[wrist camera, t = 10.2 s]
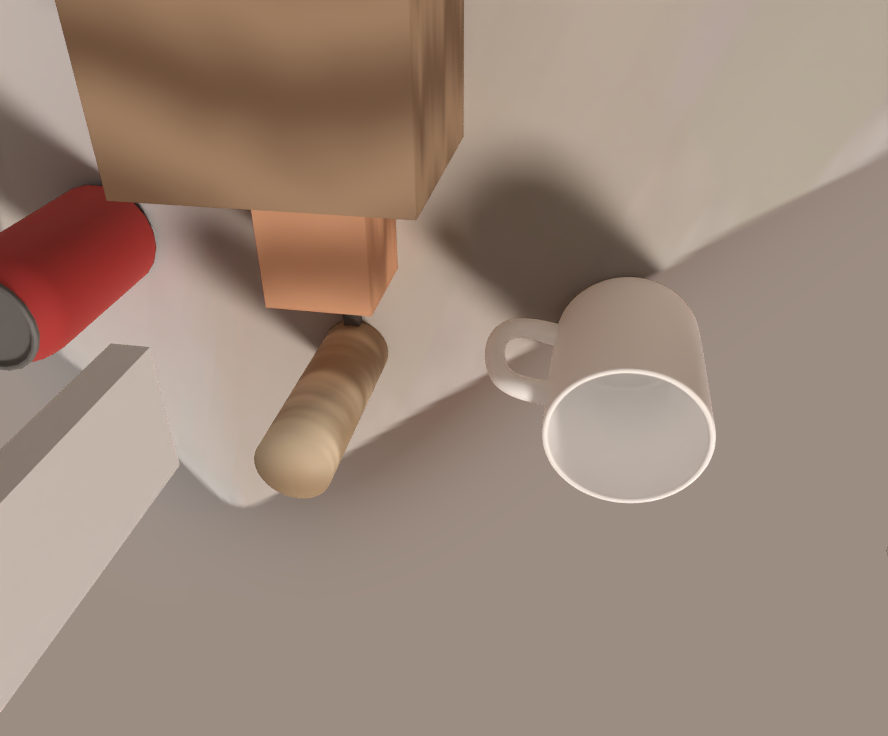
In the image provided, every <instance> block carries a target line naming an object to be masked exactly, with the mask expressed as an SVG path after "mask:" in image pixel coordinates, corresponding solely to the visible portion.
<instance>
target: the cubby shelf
mask: <svg viewBox="0 0 888 736" xmlns="http://www.w3.org/2000/svg"><path fill="white" fill-rule="evenodd" d="M55 3H56V7H57V10H58V14H59V18H60V22H61V26H62V30H63V34H64V38H65V41H66V45H67V49H68V53H69V57H70V61H71V65H72V68H73V72H74V76H75V80H76V84H77V88H78V92H79V96H80V99H81V103H82V107H83V111H84V115H85V119H86V123H87V126H88V130H89V134H90V138H91V142H92V146H93V150H94V154H95V157H96V161H97V165H98V169H99V173H100V177H101V181H102V185H103V188H104V192H105V196H106V200H107V201H118V202H134V203H150V204H166V205H182V206H198V207H214V208H230V209H245V210H261V211H277V212H293V213H309V214H325V215H341V216H357V217H373V218H389V219H405V220H417V218H418V216H419V215H420V213H421V211H422V209H423V207H424V206H425V204H426V202H427V200H428V199H429V197H430V195H431V193H432V191H433V190H434V188H435V186H436V184H437V183H438V181H439V179H440V177H441V176H442V174H443V172H444V170H445V168H446V167H447V165H448V163H449V161H450V160H451V158H452V156H453V154H454V152H455V151H456V149H457V147H458V145H459V144H460V142H461V140H462V138H463V98H464V0H55Z"/></svg>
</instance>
